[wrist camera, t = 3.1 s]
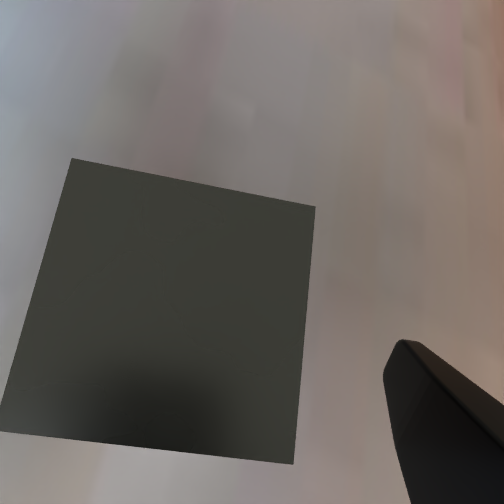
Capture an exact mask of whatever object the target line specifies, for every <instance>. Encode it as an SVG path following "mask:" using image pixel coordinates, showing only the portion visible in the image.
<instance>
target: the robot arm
mask: <svg viewBox="0 0 504 504" xmlns="http://www.w3.org/2000/svg"><path fill="white" fill-rule="evenodd" d="M383 383H384V388H385V394H386V400H387V406H388V411H389V417H390V423H391V428H392V434H393V439H394V444H395V449H396V452H397V456H398V460H399V463H400V467H401V470H402V474H403V477H404V481H405V484H406V488H407V491H408V495H409V498H410V502H411V504H504V405H503V404H501V403H500V402H499V401H497V400H496V399H495V398H493V397H492V396H491V395H489V394H488V393H487V392H485V391H484V390H483V389H481V388H480V387H479V386H477V385H476V384H475V383H473V382H472V381H471V380H469V379H468V378H467V377H465V376H464V375H463V374H461V373H460V372H459V371H457V370H456V369H455V368H453V367H452V366H451V365H449V364H448V363H447V362H445V361H444V360H443V359H441V358H440V357H439V356H437V355H436V354H435V353H433V352H432V351H431V350H429V349H428V348H427V347H425V346H424V345H423V344H421V343H420V342H417V341H411V340H404V339H401V340H399V341H398V342H397V343H396V345H395V347H394V349H393V351H392V353H391V355H390V357H389V359H388V362H387V364H386V366H385V368H384V372H383Z"/></svg>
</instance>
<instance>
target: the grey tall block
mask: <svg viewBox="0 0 504 504" xmlns="http://www.w3.org/2000/svg"><path fill="white" fill-rule="evenodd" d="M314 219H315V207H314V206H309V205H304V204H299V203H294V202H289V201H284V200H279V199H274V198H269V197H264V196H259V195H254V194H249V193H244V192H239V191H234V190H229V189H224V188H219V187H214V186H209V185H204V184H199V183H194V182H189V181H184V180H179V179H174V178H169V177H164V176H159V175H154V174H149V173H144V172H139V171H134V170H129V169H124V168H119V167H114V166H109V165H104V164H99V163H94V162H89V161H84V160H79V159H74V158H72V159H71V162H70V166H69V169H68V173H67V176H66V180H65V183H64V187H63V190H62V194H61V197H60V201H59V204H58V207H57V211H56V214H55V218H54V221H53V225H52V228H51V232H50V235H49V239H48V242H47V246H46V249H45V252H44V256H43V259H42V263H41V266H40V270H39V273H38V277H37V280H36V284H35V287H34V291H33V294H32V298H31V301H30V304H29V308H28V311H27V315H26V318H25V322H24V325H23V329H22V332H21V336H20V339H19V343H18V346H17V350H16V353H15V356H14V360H13V363H12V367H11V370H10V374H9V377H8V381H7V384H6V388H5V391H4V395H3V398H2V401H1V405H0V431H2V432H11V433H20V434H29V435H37V436H46V437H55V438H64V439H72V440H81V441H90V442H99V443H108V444H116V445H125V446H134V447H143V448H151V449H160V450H169V451H178V452H186V453H195V454H204V455H213V456H222V457H230V458H239V459H248V460H257V461H265V462H274V463H283V464H292V465H293V463H294V451H295V440H296V428H297V416H298V405H299V393H300V381H301V370H302V358H303V347H304V335H305V323H306V312H307V300H308V289H309V277H310V265H311V254H312V242H313V230H314Z"/></svg>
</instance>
